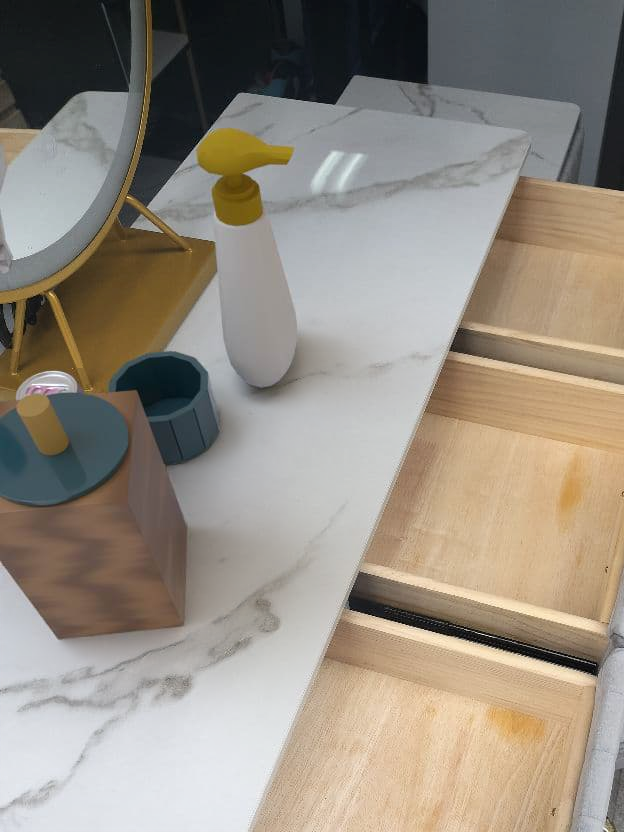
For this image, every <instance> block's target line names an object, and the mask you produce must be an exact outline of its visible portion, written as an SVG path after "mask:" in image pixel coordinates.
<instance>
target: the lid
mask: <svg viewBox="0 0 624 832" xmlns="http://www.w3.org/2000/svg"><path fill="white" fill-rule="evenodd" d="M90 394H91V393H84V392H83V393H74V392H67V393H56V394H50V395H43V394H30V395H27V396H25V397H24V398H22V399H21V400H20V401H19V402H18V404H17V407H16V408H14V409H12V410H11V411H9V412H8V413H6V414H5V415H4V416H3V417H1V418H0V497H1V498H3V499H5V500H7V501H9V502H12V503H16V504H19V505H25V506H35V507H40V506H52V505H59V504H63V503H67V502H70V501H73V500H76V499H78V498H81V497H83V496H85V495H87V494H89V493H91V492H92V491H94V490H96V489H97V488H99V487H100V486H102V485H103V484H104V483H105V482H107V481H108V480H109V479H110V478H111V477H112V476H113V475H114V474H115V473H116V471H117V470H118V469H119V467H120V466H121V465H122V463H123V461H124V459H125V457H126V454H127V451H128V447H129V430H128V427H127V424H126V422H125V419H124V418H123V416H122V414H121V413H120V412H119V411H118V409H117V408H116V407H114V406H113V405H112V404H111V403H109V402H107V401H106V400H104V399H102V398H99V397H97V396H93V395H90Z"/></svg>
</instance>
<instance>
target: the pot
mask: <svg viewBox="0 0 624 832" xmlns="http://www.w3.org/2000/svg"><path fill="white" fill-rule="evenodd" d="M212 386H213V385H212V382H211V379H210V375H209V371H208V370H207V369H206V368H205V367H204V366H203V364H202V363H201V362H200V361H199V360H198V359H197V357H196V358H195V357H194V356H191V355H189V354H186V353H182V352H179V351H177V350H176V351H175V350H174V351H173V350H166V351H155V352H153V351H152V352H147V353H144V354H142V355H140V356H138V357H137V356H136V357H135V358H134V359H130V360H128V361H127V362H124V364H122V365H121V366H120V368H119V369H118V370H117V371H116V372H115V373H114V374H113V376H112V377H111V378H110V379H109V380H108V389H107V393H109V392H121V391H133V390H137V393H138V395H139V398H140V401H141V403H142V406H143V409H144V411H145V414H146V417H147V420H148V422H149V425H150V428H151V430H152V433H153V436H154V438H155V441H156V444H157V446H158V449H159V452H160V455H161V457H162V460H163V463H164V465H165V466H168V465H178V464H182V463H186V462H188V461H192V460H193V459H195V458H197V457H200V455H202V454H203V453H205V452H206V451H207V450H209V449H210V447H212V445H213V444H214V443H215V441H216V439H217V437H218V435H219V432H220V424H221V423H220V413H219V409H218V405H217V401H216V398H215V394H214V389H213V387H212Z"/></svg>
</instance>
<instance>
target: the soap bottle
mask: <svg viewBox="0 0 624 832" xmlns="http://www.w3.org/2000/svg"><path fill="white" fill-rule="evenodd" d="M195 151H196V152H195V153H196V158H197V163H198V166H199V168H201V169H203V170H204V172H207V173H208V174H213V175H217V176H221V177H219V178H218V179H217V180H216V182H215V184H213V186H212V188H211V197H212V203H213V207H214V211H213V214H212V221H213V223H212V224H213V234H214V245H215V257H216V259H215V260H216V269H217V279H218V291H219V292H218V294H219V302H220V303H219V304H220V305H219V306H220V315H221V316H220V317H221V327H222V339H223V342H224V347H225V351H226V354H227V357H228V361H229V362H230V365H231V367H232V368H233V370H234V371H235V373H236V374H237V375H238V377H240V378H241V379H242V380H243V381H244V382H245V383H247V384H248V385H251V386H252V387H257V388H261V389H262V388H268V387H272V386H273V385H275V384H277V383H278V382H279V381H281V380H282V378H283V377H284V376H285V375H286V373H287V371H289V369H290V367H291V364H292V362H293V359H294V356H295V354H296V349H297V343H298V320H297V314H296V313H297V312H296V310H295V306H294V302H293V299H292V294H291V291H290V288H289V284H288V280H287V277H286V274H285V270H284V267H283V263H282V260H281V256H280V252H279V249H278V248H279V247H278V245H277V241H276V237H275V234H274V231H273V227H272V223H271V220H270V215H269V213H268V210H267V208H266V207H265V206H264V204H263V202H262V201H263V200H262V196H261V188H260V187H261V186H260V185H259V183H258V182H257V181H256V179H253V178H252V177H251V176H250V175H247V174H245V173H248V172H250V171H253V170H256V169H259V168H262V167H266V166H271V165H272V166H273V165H275V166H288V165H289V162H290V160H291V159H292V156H293V154H294V151H295V147H294V146H289V145H271V144H267V143H266V142H264V141H263V140H261V139H260V138H259V137H257V136H256V135H254V134H251V133H248V132H247V131H244V130H241V129H240V128H234V127H223V128H218V129H215V130H213V131H211V132H209V133H208V134H207V135H206V136H205V137H204V138H203V140H202V141H200V143H199V145H198V147H197V148H196V150H195Z"/></svg>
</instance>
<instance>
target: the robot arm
mask: <svg viewBox="0 0 624 832" xmlns="http://www.w3.org/2000/svg"><path fill="white" fill-rule="evenodd" d="M7 172H8V163H7V157H6V153H5V149H4V145H3V142H2V141H1V139H0V194H1V192H2V189H3V187H4V181H5V178H6V175H7ZM1 212H2V211H1V210H0V275H2V276H5V275H8V274H9V273H10V271H11V267H12V264H13V259H14V256H13V253H12V251H11V249H10V247H9V245H8V242H7V240H6V234H5V228H4V223H3V217H2V213H1Z"/></svg>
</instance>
